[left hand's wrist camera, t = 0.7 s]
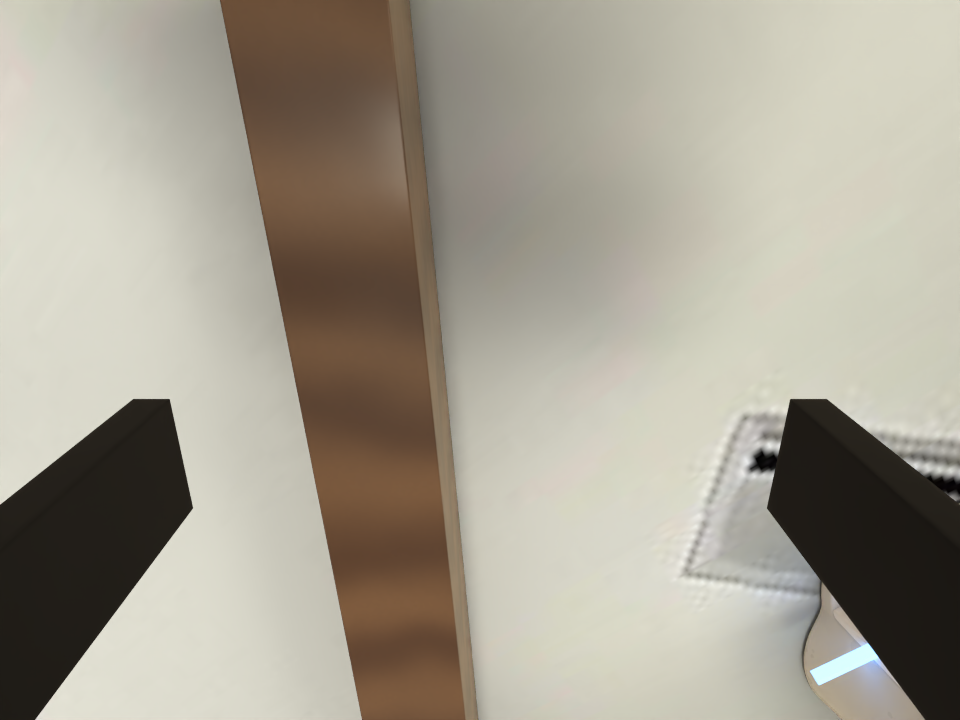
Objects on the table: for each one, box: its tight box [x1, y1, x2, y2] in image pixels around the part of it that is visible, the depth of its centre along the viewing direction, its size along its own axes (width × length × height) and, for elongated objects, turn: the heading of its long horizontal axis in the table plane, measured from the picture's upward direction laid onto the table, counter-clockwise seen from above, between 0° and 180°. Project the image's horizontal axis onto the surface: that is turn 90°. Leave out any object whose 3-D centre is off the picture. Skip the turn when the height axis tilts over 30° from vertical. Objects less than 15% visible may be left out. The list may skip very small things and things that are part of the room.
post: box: [220, 0, 478, 720], centre depth 36 cm, size 74×6×8 cm, turn 4°
